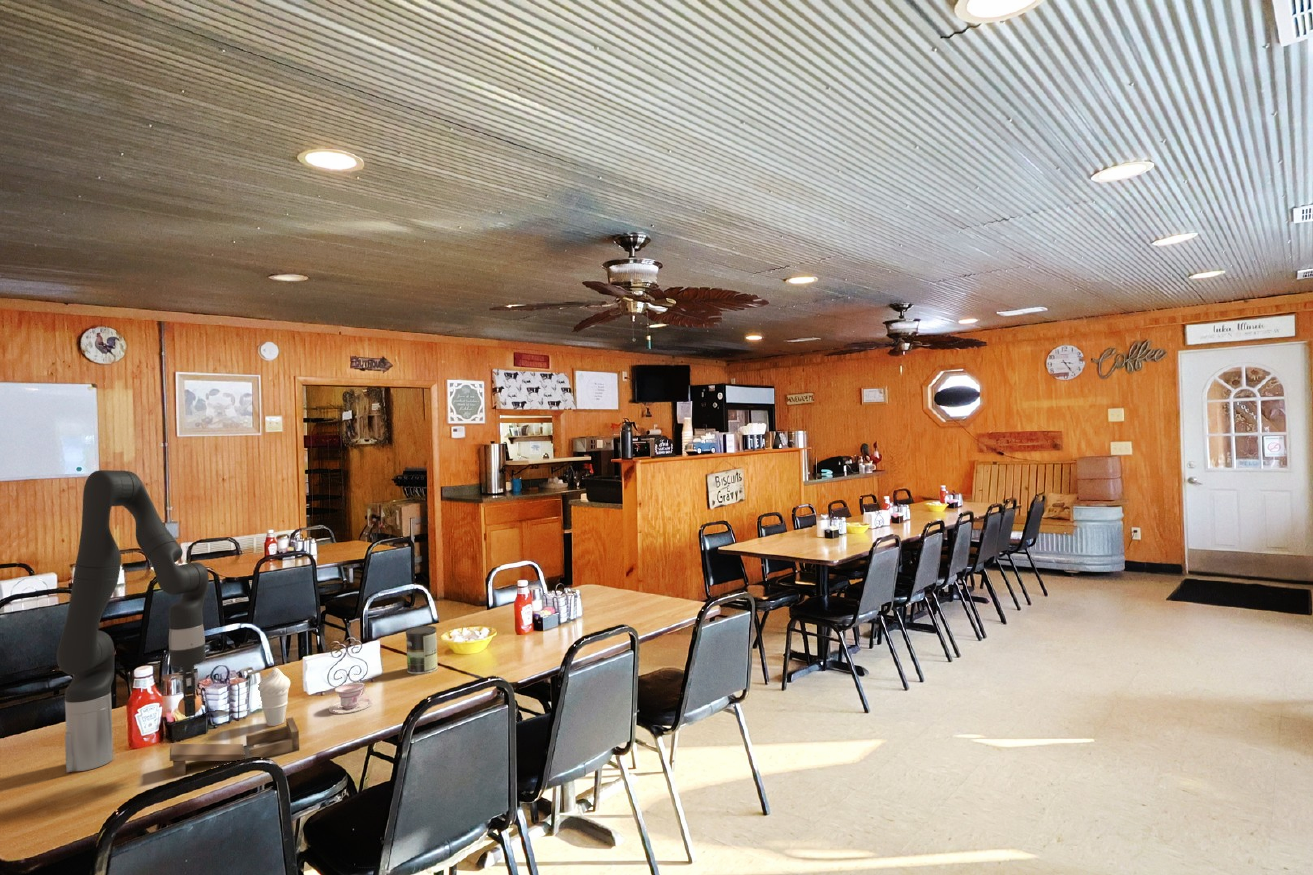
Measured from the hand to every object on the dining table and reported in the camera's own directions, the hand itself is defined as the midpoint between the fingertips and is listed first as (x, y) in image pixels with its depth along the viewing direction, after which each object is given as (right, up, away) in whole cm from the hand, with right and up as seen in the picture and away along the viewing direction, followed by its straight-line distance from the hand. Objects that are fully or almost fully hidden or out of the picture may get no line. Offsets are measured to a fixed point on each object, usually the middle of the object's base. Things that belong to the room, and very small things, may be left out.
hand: (190, 712), depth 181 cm
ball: (0, +2, 0) cm, 2 cm away
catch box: (+15, -13, +9) cm, 22 cm away
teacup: (+24, -13, +39) cm, 47 cm away
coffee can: (+35, -13, +73) cm, 82 cm away
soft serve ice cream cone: (+7, -14, +27) cm, 31 cm away
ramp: (+3, -13, +2) cm, 14 cm away
